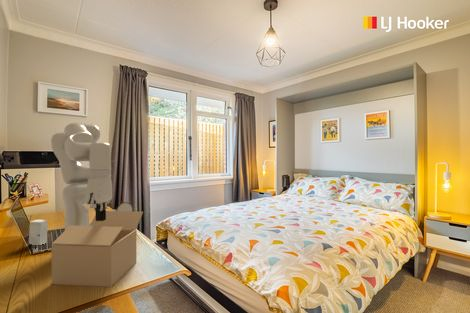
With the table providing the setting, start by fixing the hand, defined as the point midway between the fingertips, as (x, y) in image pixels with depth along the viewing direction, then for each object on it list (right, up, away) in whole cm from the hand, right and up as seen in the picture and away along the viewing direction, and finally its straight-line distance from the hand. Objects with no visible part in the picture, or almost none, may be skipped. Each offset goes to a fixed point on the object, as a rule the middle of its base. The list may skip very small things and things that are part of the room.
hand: (100, 220), depth 92 cm
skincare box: (-46, -20, +25) cm, 56 cm away
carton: (-1, -20, -1) cm, 20 cm away
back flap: (0, -3, +11) cm, 12 cm away
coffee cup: (-20, -19, +46) cm, 54 cm away
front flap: (-1, -4, -6) cm, 7 cm away
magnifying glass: (-7, -20, +34) cm, 39 cm away
